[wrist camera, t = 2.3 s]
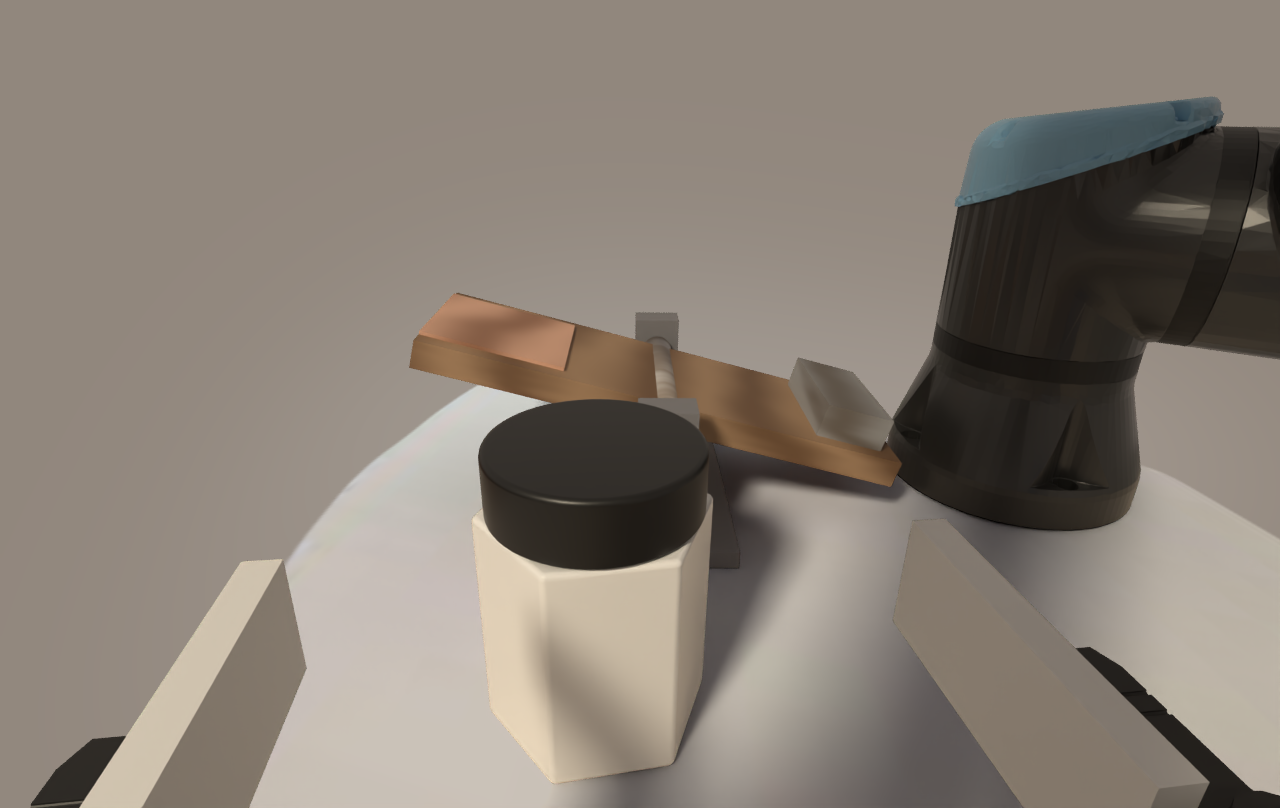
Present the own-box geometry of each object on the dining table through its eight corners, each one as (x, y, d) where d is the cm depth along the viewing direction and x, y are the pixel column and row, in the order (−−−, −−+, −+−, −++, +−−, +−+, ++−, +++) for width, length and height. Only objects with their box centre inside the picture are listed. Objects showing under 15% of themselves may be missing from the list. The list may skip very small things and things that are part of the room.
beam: (835, 410, 51) (855, 363, 50) (898, 503, 39) (927, 445, 38) (457, 312, 48) (467, 258, 46) (400, 381, 36) (410, 312, 34)
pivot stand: (704, 423, 54) (710, 312, 51) (738, 567, 37) (751, 415, 34) (602, 423, 54) (601, 311, 51) (590, 567, 37) (587, 415, 34)
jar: (678, 618, 34) (688, 390, 29) (730, 762, 26) (754, 487, 22) (490, 642, 32) (468, 404, 27) (490, 801, 25) (459, 514, 20)
